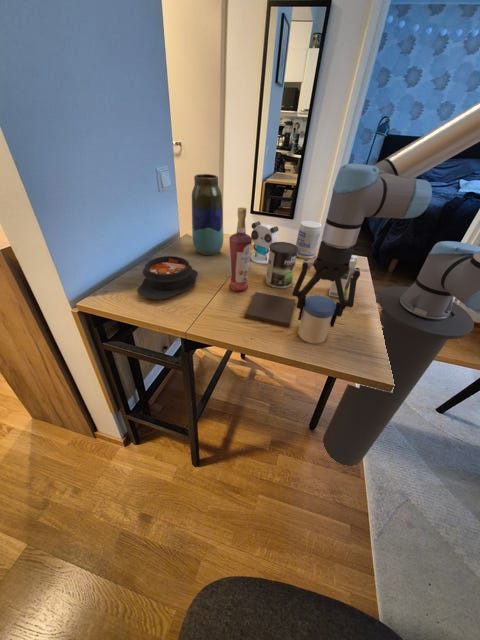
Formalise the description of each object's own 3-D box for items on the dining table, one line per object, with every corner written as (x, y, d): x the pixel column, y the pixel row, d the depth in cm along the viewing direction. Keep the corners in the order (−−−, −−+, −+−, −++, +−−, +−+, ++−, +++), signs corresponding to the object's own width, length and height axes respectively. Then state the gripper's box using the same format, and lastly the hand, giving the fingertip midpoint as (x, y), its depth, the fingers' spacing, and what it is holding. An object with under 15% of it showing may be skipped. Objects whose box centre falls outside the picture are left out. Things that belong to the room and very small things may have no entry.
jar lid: (335, 304, 73) (336, 298, 72) (334, 320, 67) (336, 315, 66) (305, 298, 75) (306, 293, 74) (302, 314, 68) (303, 308, 67)
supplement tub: (292, 257, 120) (297, 224, 111) (296, 249, 127) (302, 219, 118) (313, 261, 118) (320, 228, 109) (316, 253, 125) (323, 222, 116)
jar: (326, 329, 79) (335, 300, 72) (325, 346, 72) (335, 316, 66) (299, 323, 80) (306, 294, 74) (296, 339, 74) (303, 309, 68)
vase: (193, 246, 125) (189, 172, 106) (222, 246, 127) (222, 173, 108) (192, 258, 114) (187, 178, 95) (224, 258, 116) (225, 179, 97)
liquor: (238, 296, 91) (243, 213, 74) (224, 288, 95) (224, 208, 78) (252, 289, 95) (259, 209, 78) (237, 281, 99) (241, 204, 82)
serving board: (294, 303, 89) (295, 299, 88) (288, 327, 79) (289, 323, 78) (255, 295, 92) (255, 291, 91) (244, 317, 81) (244, 313, 81)
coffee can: (297, 283, 101) (304, 248, 92) (279, 291, 95) (285, 255, 87) (277, 273, 107) (282, 239, 98) (259, 280, 101) (263, 245, 92)
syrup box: (328, 295, 94) (339, 258, 85) (329, 288, 99) (340, 252, 90) (344, 299, 93) (357, 261, 84) (345, 291, 97) (357, 255, 88)
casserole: (170, 266, 107) (167, 247, 102) (209, 277, 101) (209, 257, 96) (125, 295, 88) (119, 272, 83) (169, 310, 83) (166, 287, 78)
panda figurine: (244, 257, 117) (246, 224, 108) (259, 250, 124) (262, 218, 115) (265, 266, 111) (269, 231, 102) (280, 258, 118) (285, 225, 109)
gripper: (384, 244, 60) (353, 321, 74) (294, 231, 64) (281, 306, 78) (389, 256, 54) (355, 337, 68) (289, 241, 59) (276, 320, 73)
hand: (315, 320), depth 73 cm, fingers closed on jar lid, 8 cm apart
